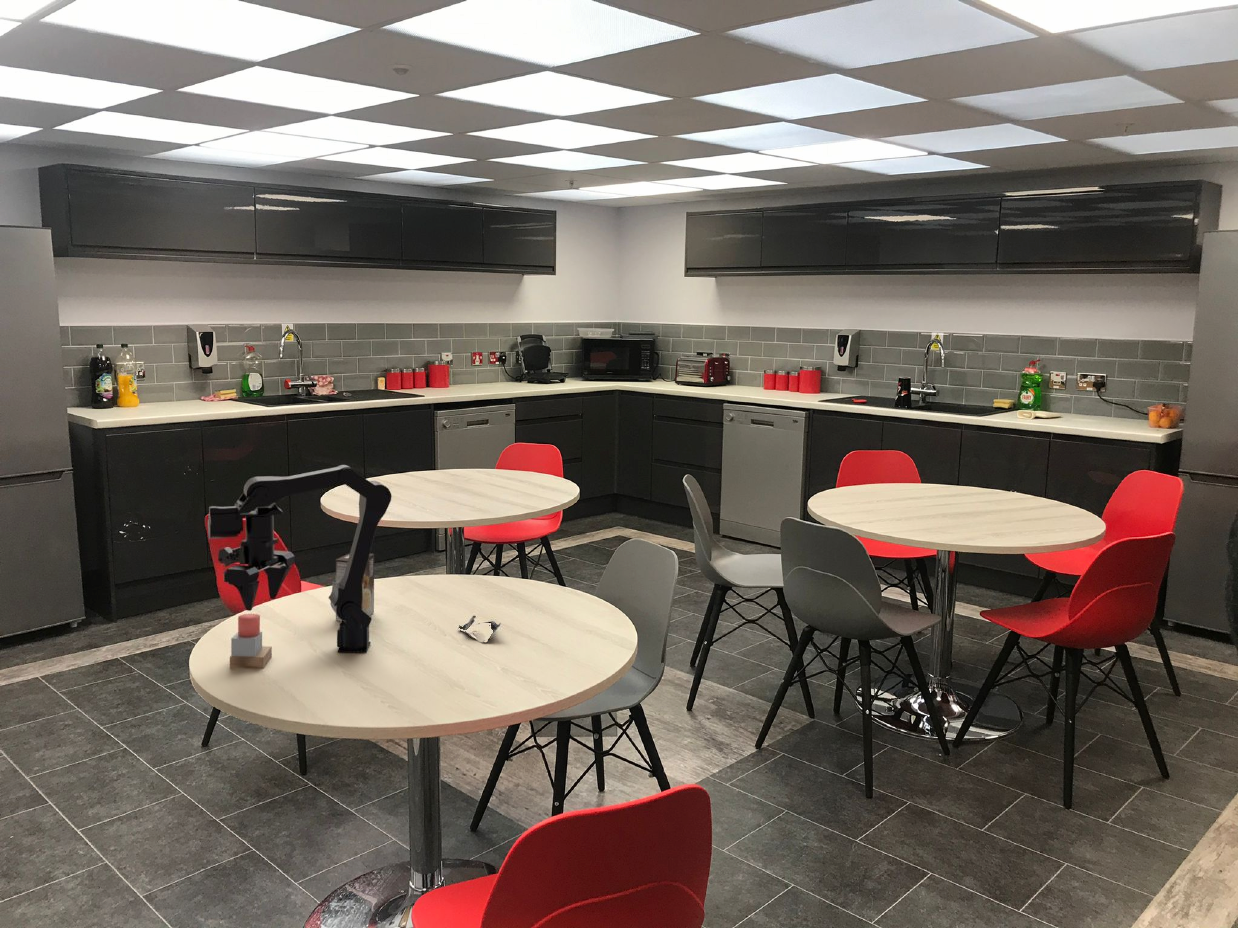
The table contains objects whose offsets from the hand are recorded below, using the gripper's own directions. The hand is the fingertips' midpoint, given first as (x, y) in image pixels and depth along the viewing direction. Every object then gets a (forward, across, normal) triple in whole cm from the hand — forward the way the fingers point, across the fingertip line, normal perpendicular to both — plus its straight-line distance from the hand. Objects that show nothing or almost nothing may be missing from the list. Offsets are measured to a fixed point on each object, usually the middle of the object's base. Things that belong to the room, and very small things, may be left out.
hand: (261, 604), depth 205 cm
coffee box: (+13, -35, +5) cm, 37 cm away
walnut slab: (+13, +3, -1) cm, 13 cm away
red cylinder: (+6, +3, -1) cm, 7 cm away
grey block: (+10, +3, -2) cm, 11 cm away
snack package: (+14, -32, +39) cm, 52 cm away
